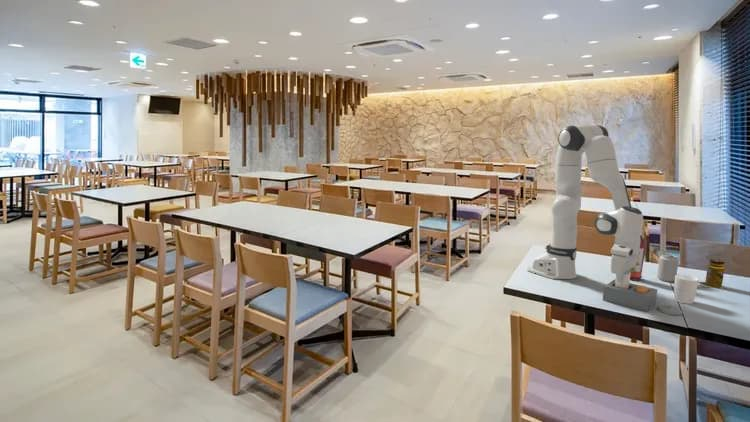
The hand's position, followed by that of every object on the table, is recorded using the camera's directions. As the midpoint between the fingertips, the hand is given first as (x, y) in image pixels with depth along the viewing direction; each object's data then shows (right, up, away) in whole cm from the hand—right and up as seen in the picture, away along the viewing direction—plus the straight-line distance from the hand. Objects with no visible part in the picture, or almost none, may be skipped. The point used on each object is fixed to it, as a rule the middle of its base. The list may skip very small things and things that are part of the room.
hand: (622, 280), depth 179 cm
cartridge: (0, -8, +1) cm, 8 cm away
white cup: (+25, -9, +1) cm, 27 cm away
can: (+36, -4, +27) cm, 45 cm away
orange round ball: (+5, -6, -4) cm, 9 cm away
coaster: (+13, -10, -10) cm, 19 cm away
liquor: (+21, -4, +28) cm, 35 cm away
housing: (+2, -9, -1) cm, 9 cm away
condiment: (+51, -6, +20) cm, 55 cm away
